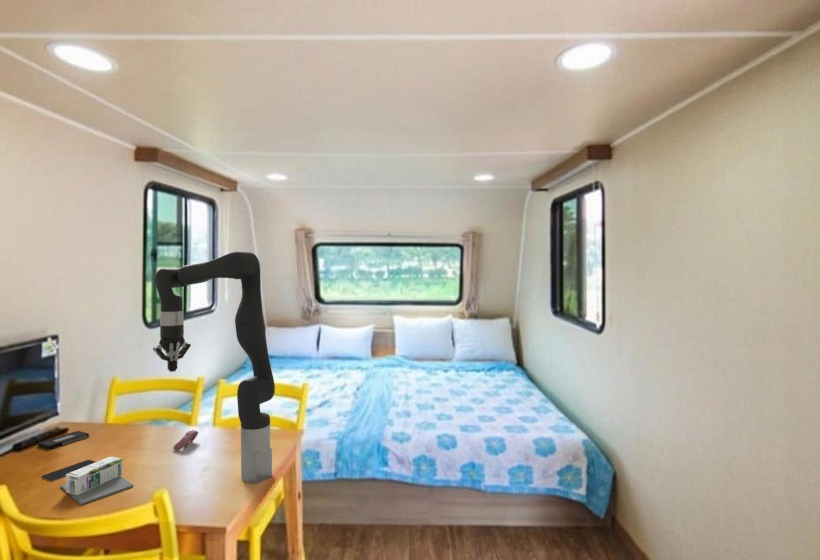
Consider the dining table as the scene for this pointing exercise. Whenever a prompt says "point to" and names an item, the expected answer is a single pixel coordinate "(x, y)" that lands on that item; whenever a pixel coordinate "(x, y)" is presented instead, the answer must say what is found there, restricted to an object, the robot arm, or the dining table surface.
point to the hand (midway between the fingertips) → (172, 371)
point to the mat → (101, 490)
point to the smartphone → (66, 470)
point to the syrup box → (93, 475)
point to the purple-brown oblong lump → (186, 440)
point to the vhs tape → (63, 440)
